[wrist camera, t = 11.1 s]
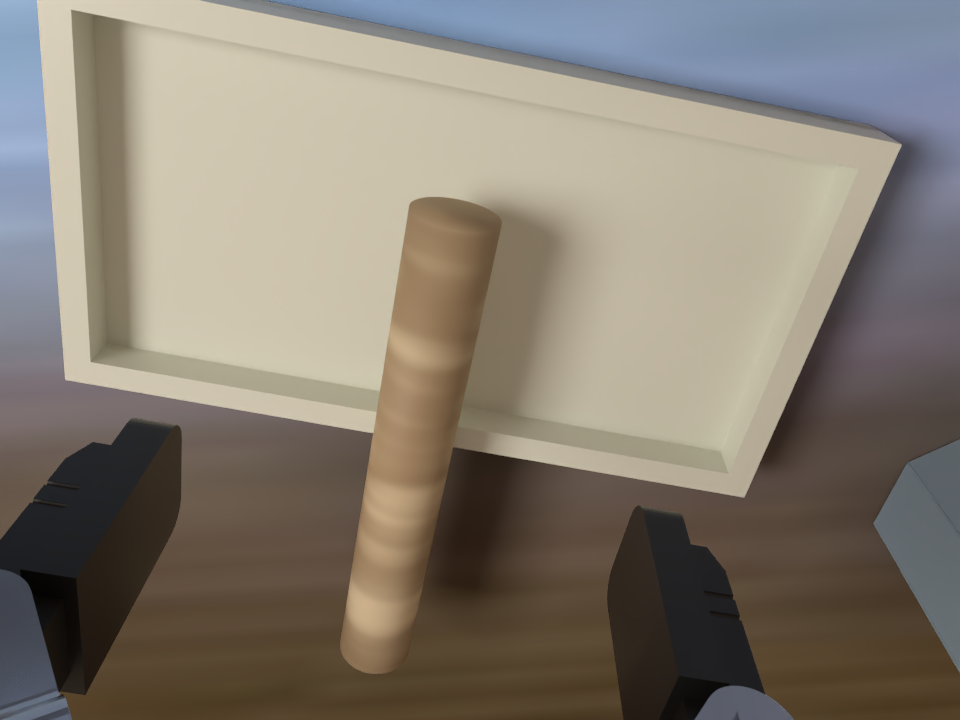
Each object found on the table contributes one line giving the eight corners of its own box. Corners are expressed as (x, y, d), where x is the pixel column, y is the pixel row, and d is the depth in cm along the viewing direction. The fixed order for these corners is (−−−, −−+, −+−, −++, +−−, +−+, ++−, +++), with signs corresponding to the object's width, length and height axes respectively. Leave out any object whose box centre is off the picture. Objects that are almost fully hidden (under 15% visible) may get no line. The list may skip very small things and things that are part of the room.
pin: (407, 198, 19) (313, 746, 24) (505, 218, 20) (394, 759, 24) (422, 180, 25) (344, 625, 30) (498, 196, 25) (410, 636, 30)
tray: (74, -39, 21) (34, -34, 19) (871, 125, 22) (902, 144, 21) (94, 348, 27) (65, 379, 25) (729, 460, 28) (744, 497, 26)
